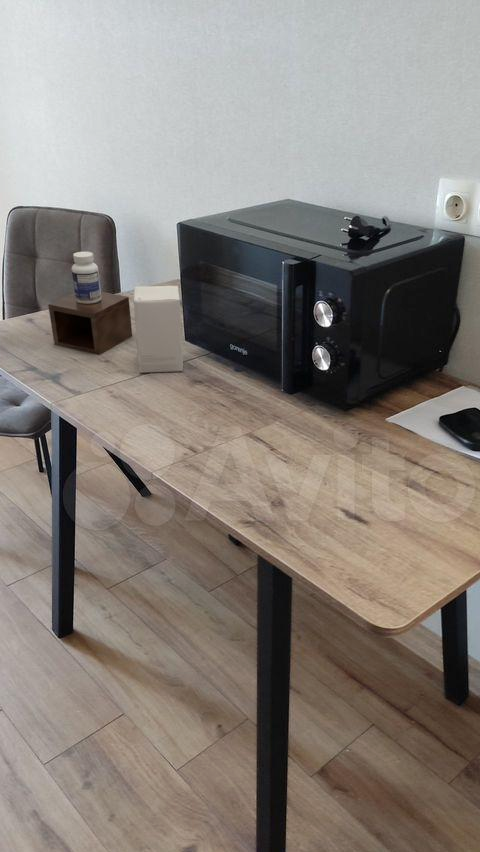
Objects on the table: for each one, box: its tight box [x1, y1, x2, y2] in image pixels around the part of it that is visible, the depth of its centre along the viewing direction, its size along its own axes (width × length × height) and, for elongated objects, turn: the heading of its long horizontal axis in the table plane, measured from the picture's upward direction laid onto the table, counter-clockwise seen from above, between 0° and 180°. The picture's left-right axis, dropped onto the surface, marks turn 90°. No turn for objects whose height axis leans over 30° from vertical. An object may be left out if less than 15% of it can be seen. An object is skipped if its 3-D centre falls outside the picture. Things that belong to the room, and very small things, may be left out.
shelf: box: [47, 291, 133, 355], centre depth 152 cm, size 12×12×9 cm
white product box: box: [133, 285, 184, 374], centre depth 141 cm, size 9×9×15 cm
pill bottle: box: [71, 251, 102, 304], centre depth 147 cm, size 5×5×10 cm
